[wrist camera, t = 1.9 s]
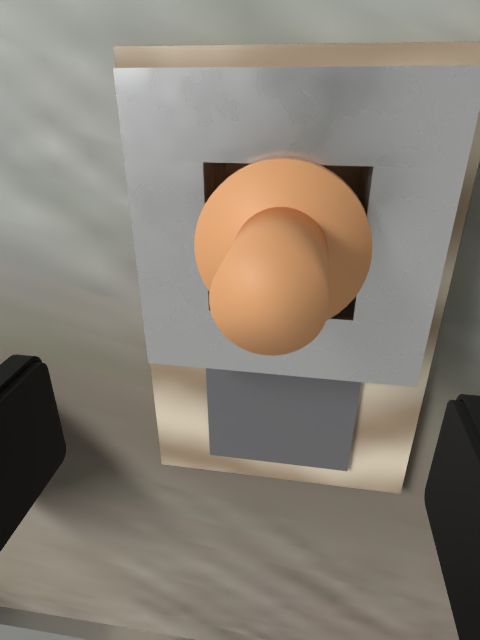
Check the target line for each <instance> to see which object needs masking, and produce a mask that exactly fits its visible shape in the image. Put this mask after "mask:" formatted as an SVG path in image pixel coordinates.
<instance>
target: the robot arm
mask: <svg viewBox="0 0 480 640" xmlns="http://www.w3.org/2000/svg"><path fill="white" fill-rule="evenodd" d="M65 454H66V445H65V440H64V436H63V432H62V427H61V423H60V418H59V414H58V410H57V405H56V401H55V397H54V392H53V388H52V384H51V379H50V375H49V371H48V367H47V365H46V364H44V363H42V361H41V359H40V358H39V357H36V356H26V355H12V356H10V357H9V358H8V359H7V360H5V361H4V362H3V363H2V364H1V365H0V551H1V550H2V549H3V547H4V546H5V544H6V543H7V541H8V540H9V538H10V537H11V535H12V534H13V533H14V531H15V530H16V528H17V527H18V525H19V524H20V522H21V521H22V520H23V518H24V517H25V515H26V514H27V512H28V511H29V509H30V508H31V507H32V505H33V504H34V502H35V501H36V499H37V498H38V496H39V495H40V494H41V492H42V491H43V489H44V488H45V486H46V485H47V483H48V482H49V481H50V479H51V478H52V476H53V475H54V473H55V472H56V470H57V469H58V468H59V466H60V465H61V463H62V462H63V460H64V457H65ZM425 506H426V510H427V514H428V518H429V522H430V526H431V530H432V534H433V538H434V542H435V546H436V550H437V554H438V557H439V561H440V565H441V569H442V573H443V577H444V581H445V585H446V589H447V593H448V597H449V601H450V605H451V609H452V612H453V616H454V620H455V624H456V628H457V632H458V636H459V640H480V396H477V395H466V394H460V395H459V396H458V397H457V400H450V401H449V402H448V404H447V407H446V411H445V415H444V418H443V422H442V426H441V430H440V434H439V438H438V442H437V445H436V449H435V453H434V457H433V461H432V465H431V468H430V472H429V476H428V480H427V484H426V488H425ZM0 640H192V639H187V638H181V637H175V636H169V635H164V634H158V633H152V632H147V631H141V630H135V629H129V628H124V627H118V626H112V625H106V624H100V623H95V622H89V621H83V620H77V619H72V618H66V617H60V616H54V615H48V614H42V613H36V612H30V611H24V610H18V609H12V608H6V607H0Z"/></svg>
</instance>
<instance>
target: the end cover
mask: <svg viewBox="0 0 480 640" xmlns="http://www.w3.org/2000/svg"><path fill="white" fill-rule="evenodd" d="M194 251H195V259H196V263H197V267H198V271H199V273H200V276H201V278H202V281H203V282H204V284H205V286H206V288H207V289H208V291H209V305H210V310H211V314H212V317H213V319H214V321H215V323H216V325H217V327H218V328H219V330H220V331H221V332H222V333H223V334H224V336H225V337H226V338H227V339H229V340H230V341H231V342H232V343H234V344H235V345H237V346H238V347H240V348H242V349H244V350H246V351H249V352H252V353H256V354H260V355H270V356H275V355H284V354H289V353H292V352H295V351H297V350H299V349H301V348H303V347H305V346H306V345H308V344H309V343H310V342H312V341H313V340H314V339H315V338H316V337H317V336H318V334H319V333H320V332H321V330H322V329H323V327H324V325H325V323H326V321H327V320H329V319H330V318H332V317H334V316H335V315H337V314H338V313H339V312H341V311H342V310H343V309H344V308H345V307H347V305H348V304H349V303H350V302H351V301H352V300H353V299H354V298H355V296H356V295H357V294H358V292H359V291H360V289H361V287H362V285H363V284H364V282H365V280H366V277H367V274H368V272H369V268H370V264H371V259H372V234H371V230H370V225H369V222H368V218H367V216H366V213H365V210H364V208H363V206H362V204H361V202H360V200H359V198H358V197H357V195H356V194H355V193H354V191H353V190H352V189H351V187H350V186H349V185H348V184H347V183H346V182H345V181H344V180H343V179H341V178H340V177H339V176H337V175H336V174H335V173H333V172H332V171H330V170H328V169H327V168H325V167H323V166H321V165H318V164H316V163H313V162H311V161H307V160H302V159H298V158H287V157H284V158H271V159H265V160H261V161H258V162H255V163H252V164H249V165H247V166H245V167H243V168H241V169H239V170H238V171H236V172H235V173H233V174H232V175H230V176H229V177H228V178H227V179H226V180H225V181H224V182H222V183H221V184H220V185H219V186H218V187H217V189H216V190H215V191H214V192H213V193H212V195H211V196H210V197H209V199H208V200H207V202H206V204H205V205H204V207H203V209H202V211H201V214H200V216H199V219H198V222H197V226H196V231H195V238H194Z"/></svg>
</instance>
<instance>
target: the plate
mask: <svg viewBox="0 0 480 640" xmlns="http://www.w3.org/2000/svg"><path fill="white" fill-rule="evenodd" d="M113 49H114V58H115V66H116V68H113V71H114V80H115V88H116V96H117V105H118V113H119V121H120V130H121V138H122V147H123V155H124V163H125V172H126V180H127V188H128V197H129V205H130V214H131V222H132V230H133V239H134V247H135V255H136V264H137V272H138V281H139V289H140V297H141V306H142V314H143V322H144V331H145V339H146V348H147V356H148V363H150V365H151V374H152V382H153V391H154V400H155V408H156V417H157V425H158V434H159V442H160V451H161V459H162V464H166V465H174V466H182V467H190V468H198V469H206V470H214V471H222V472H230V473H238V474H246V475H254V476H262V477H270V478H278V479H286V480H294V481H302V482H310V483H318V484H326V485H334V486H342V487H350V488H358V489H366V490H374V491H382V492H391V493H399V494H401V489H402V485H403V481H404V477H405V472H406V468H407V464H408V460H409V456H410V451H411V447H412V443H413V439H414V435H415V430H416V426H417V422H418V418H419V414H420V409H421V405H422V401H423V397H424V392H425V388H426V384H427V380H428V376H429V371H430V367H431V363H432V359H433V355H434V350H435V346H436V342H437V338H438V334H439V329H440V325H441V321H442V317H443V312H444V308H445V304H446V300H447V296H448V291H449V287H450V283H451V279H452V275H453V270H454V266H455V262H456V258H457V254H458V249H459V245H460V241H461V237H462V232H463V228H464V224H465V220H466V216H467V211H468V207H469V203H470V199H471V195H472V190H473V186H474V182H475V178H476V174H477V169H478V165H479V161H480V41H472V42H402V43H333V44H263V45H193V46H124V47H113ZM284 157H287V158H298V159H302V160H307V161H311V162H313V163H316V164H318V165H321V166H323V167H325V168H327V169H328V170H330V171H332V172H333V173H335V174H336V175H337V176H339V177H340V178H341V179H343V180H344V181H345V182H346V183H347V184H348V185H349V186H350V187H351V189H352V190H353V191H354V193H355V194H356V195H357V197H358V198H359V200H360V202H361V204H362V206H363V208H364V210H365V213H366V216H367V218H368V222H369V225H370V230H371V234H372V259H371V264H370V268H369V272H368V274H367V277H366V280H365V282H364V284H363V285H362V287H361V289H360V291H359V292H358V294H357V295H356V296H355V298H354V299H353V300H352V301H351V302H350V303H349V304H348V305H347V307H345V308H344V309H343V310H342V311H341V312H339V313H338V314H337V315H335V316H334V317H332V318H330V319H329V320H327V321H326V323H325V325H324V327H323V329H322V330H321V332H320V333H319V334H318V336H317V337H316V338H315V339H314V340H313V341H312V342H310V343H309V344H308V345H306V346H305V347H303V348H301V349H299V350H297V351H295V352H292V353H289V354H284V355H275V356H270V355H260V354H256V353H252V352H249V351H246V350H244V349H242V348H240V347H238V346H237V345H235V344H234V343H232V342H231V341H230V340H229V339H227V338H226V337H225V336H224V334H223V333H222V332H221V331H220V330H219V328H218V327H217V325H216V323H215V321H214V319H213V317H212V314H211V310H210V305H209V291H208V289H207V288H206V286H205V284H204V282H203V281H202V278H201V276H200V273H199V271H198V267H197V263H196V259H195V251H194V238H195V231H196V226H197V222H198V219H199V216H200V214H201V211H202V209H203V207H204V205H205V204H206V202H207V200H208V199H209V197H210V196H211V195H212V193H213V192H214V191H215V190H216V189H217V187H218V186H219V185H220V184H221V183H222V182H224V181H225V180H226V179H227V178H228V177H229V176H230V175H232V174H233V173H235V172H236V171H238V170H239V169H241V168H243V167H245V166H247V165H249V164H252V163H255V162H258V161H261V160H265V159H271V158H284Z"/></svg>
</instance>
